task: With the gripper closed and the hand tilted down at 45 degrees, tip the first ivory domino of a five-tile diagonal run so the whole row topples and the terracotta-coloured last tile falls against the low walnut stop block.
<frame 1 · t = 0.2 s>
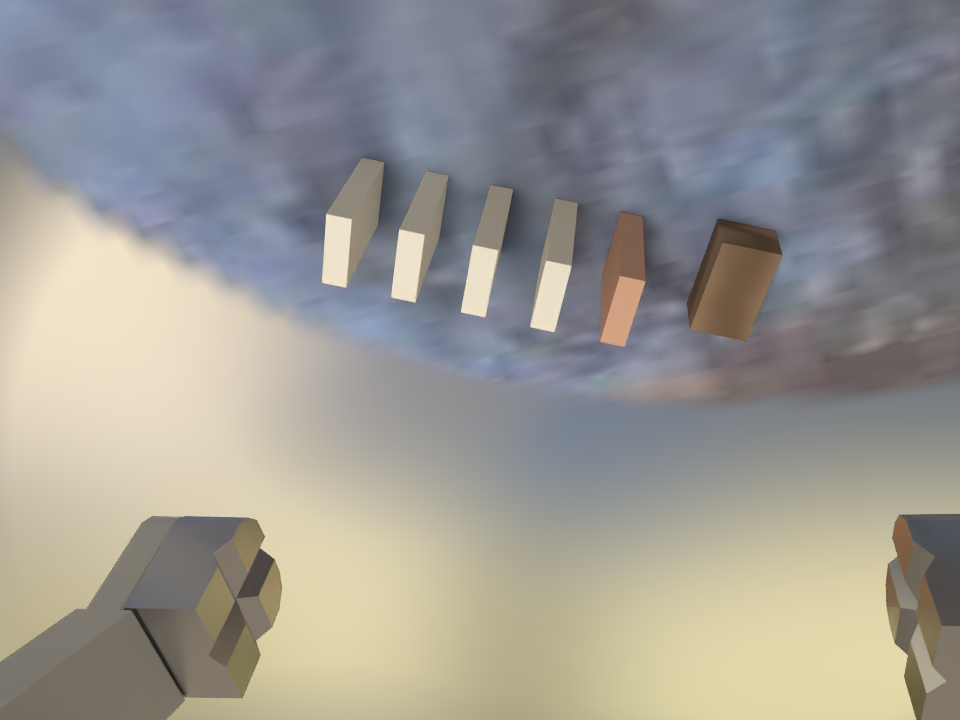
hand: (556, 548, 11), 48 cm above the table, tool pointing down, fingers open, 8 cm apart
domino1: (370, 192, 62), on the table
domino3: (495, 218, 61), on the table
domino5: (622, 245, 61), on the table
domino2: (432, 205, 62), on the table
stop block: (729, 268, 61), on the table
domino4: (558, 232, 61), on the table
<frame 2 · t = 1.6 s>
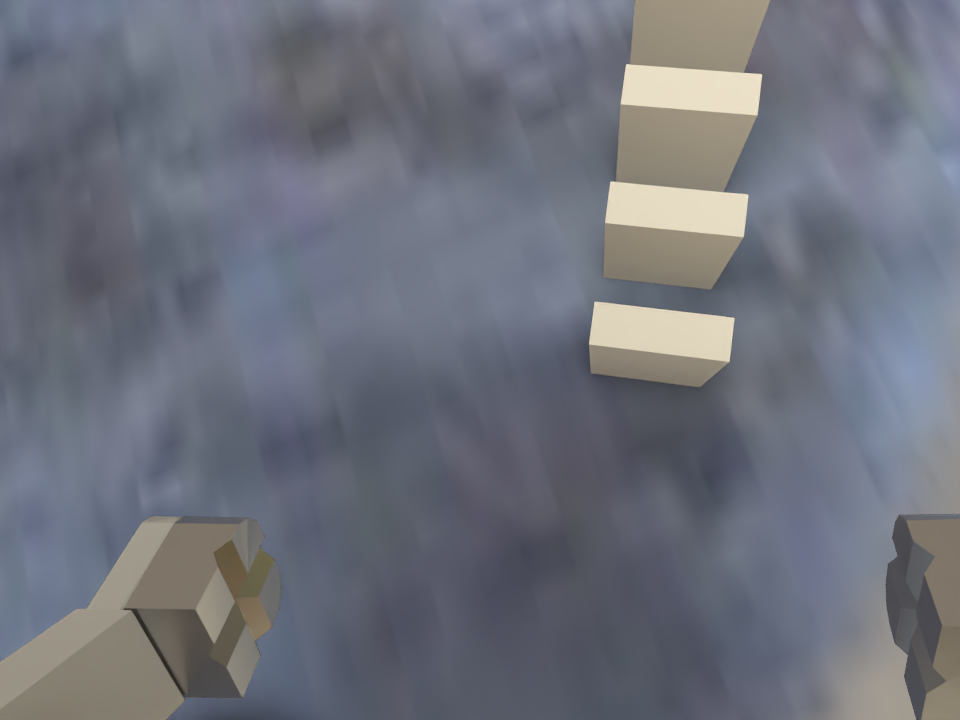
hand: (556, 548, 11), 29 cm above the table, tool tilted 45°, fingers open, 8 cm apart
domino1: (646, 363, 40), on the table
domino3: (670, 173, 41), on the table
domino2: (658, 267, 40), on the table
domino4: (681, 81, 41), on the table
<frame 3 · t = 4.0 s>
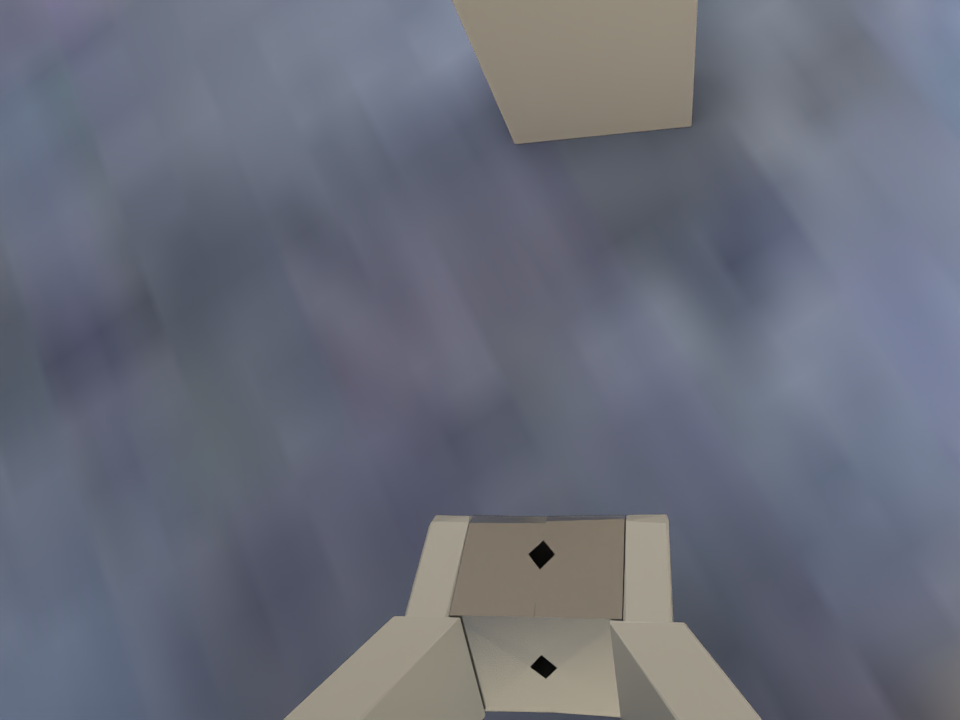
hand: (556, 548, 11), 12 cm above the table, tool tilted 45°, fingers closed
domino1: (600, 109, 25), on the table
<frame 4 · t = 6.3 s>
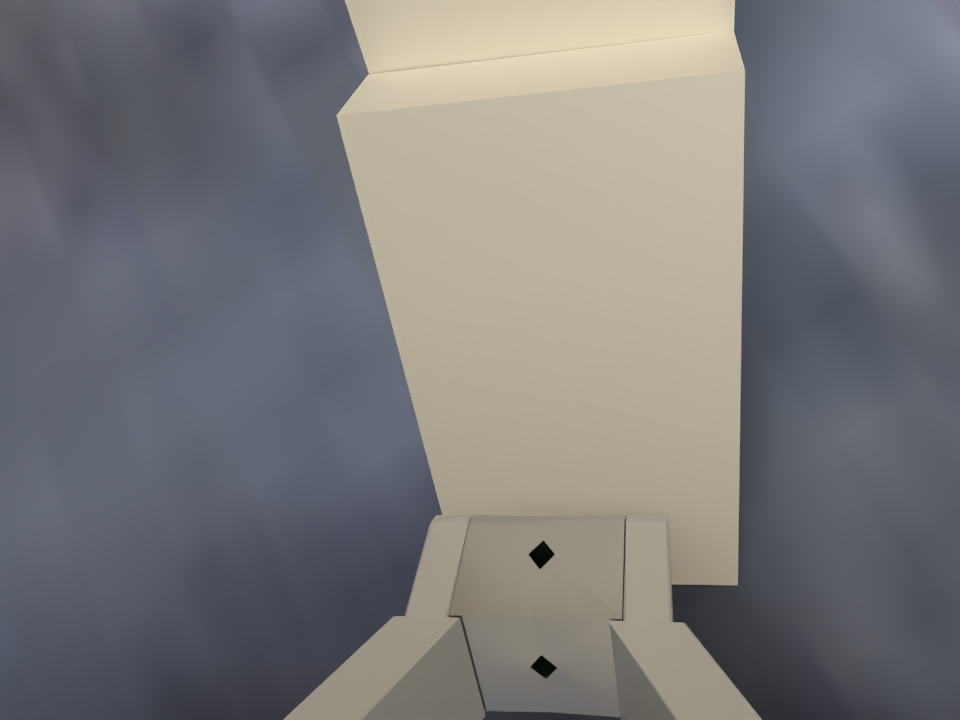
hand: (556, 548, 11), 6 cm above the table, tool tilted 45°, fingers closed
domino1: (595, 549, 16), point 1 cm above the table, tilted 44°
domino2: (590, 322, 17), on the table, tilted 29°
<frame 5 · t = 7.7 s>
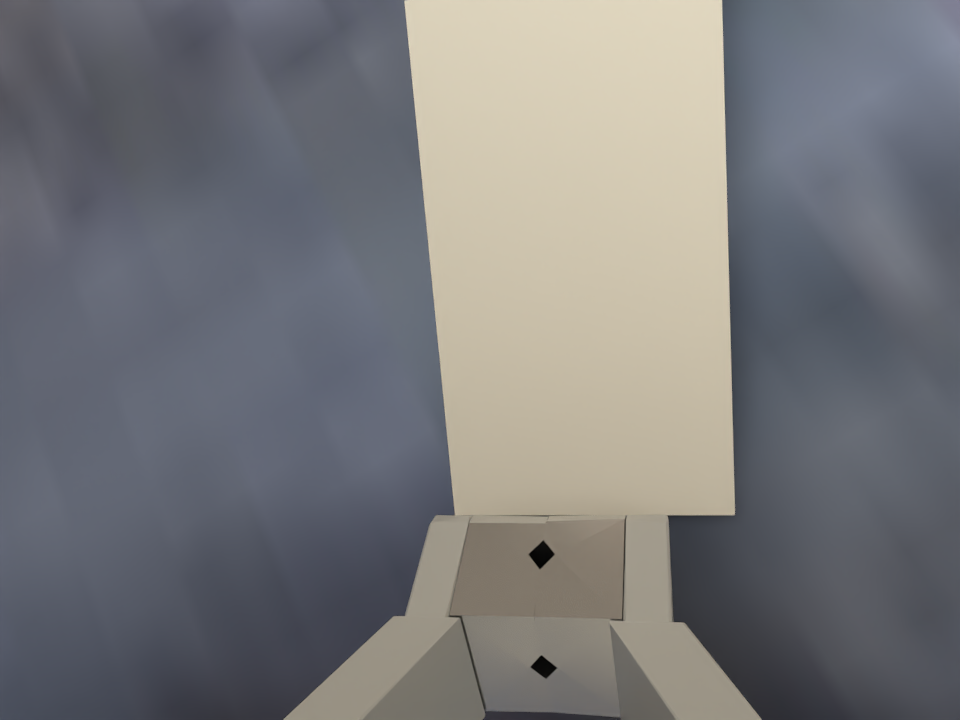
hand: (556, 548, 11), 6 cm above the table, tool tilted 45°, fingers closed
domino1: (593, 498, 16), point 1 cm above the table, tilted 68°, touching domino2
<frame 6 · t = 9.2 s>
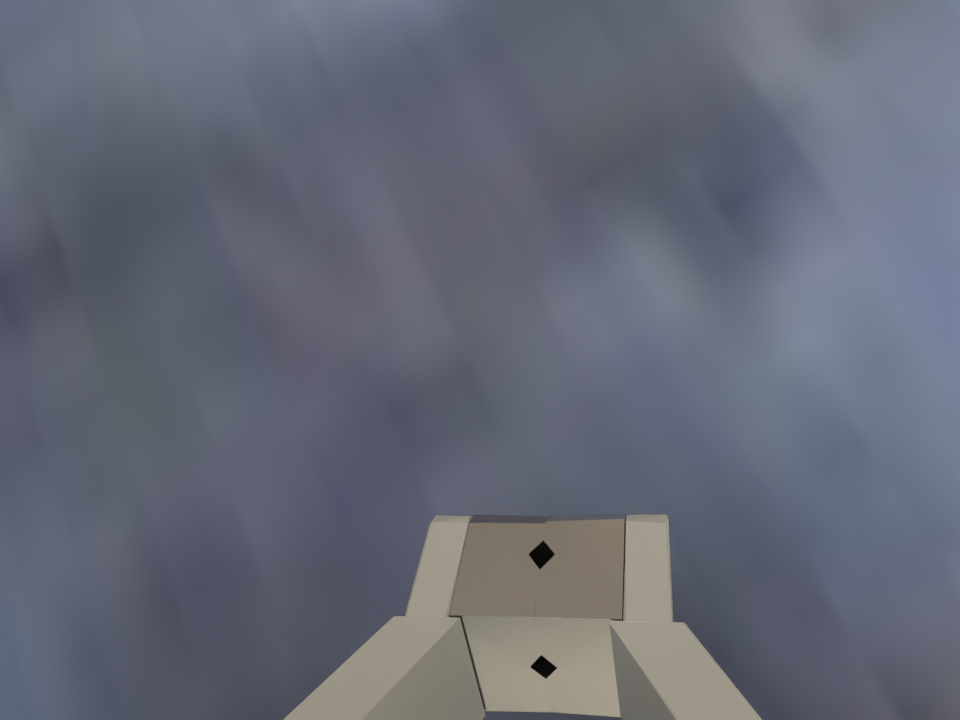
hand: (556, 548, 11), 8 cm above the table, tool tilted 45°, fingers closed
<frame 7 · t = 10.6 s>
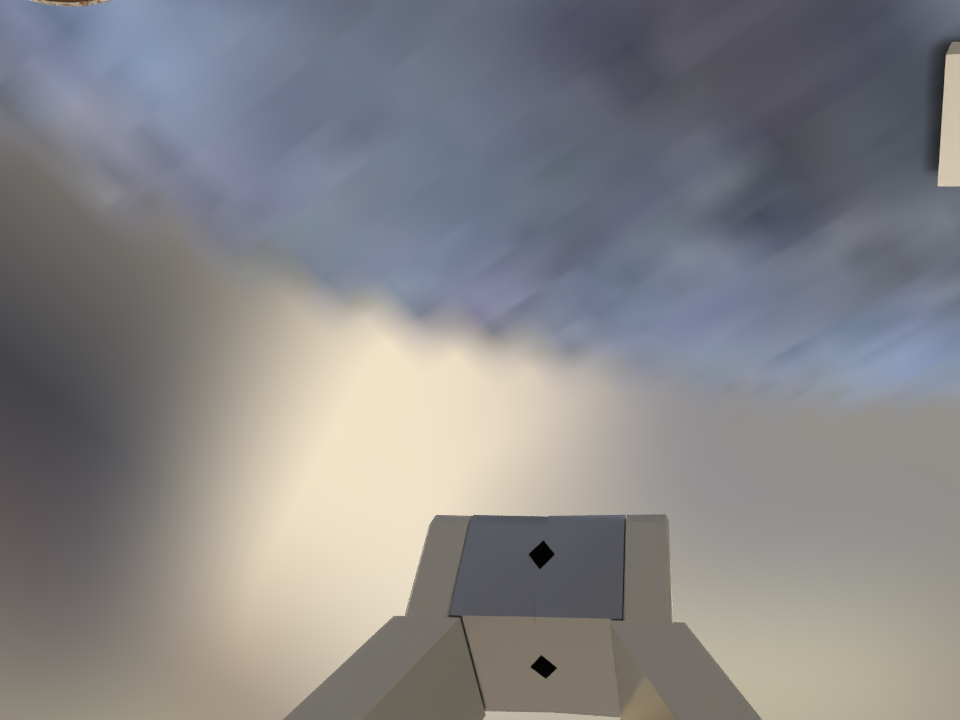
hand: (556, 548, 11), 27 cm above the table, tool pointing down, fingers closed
domino1: (944, 115, 33), point 1 cm above the table, tilted 68°, touching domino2
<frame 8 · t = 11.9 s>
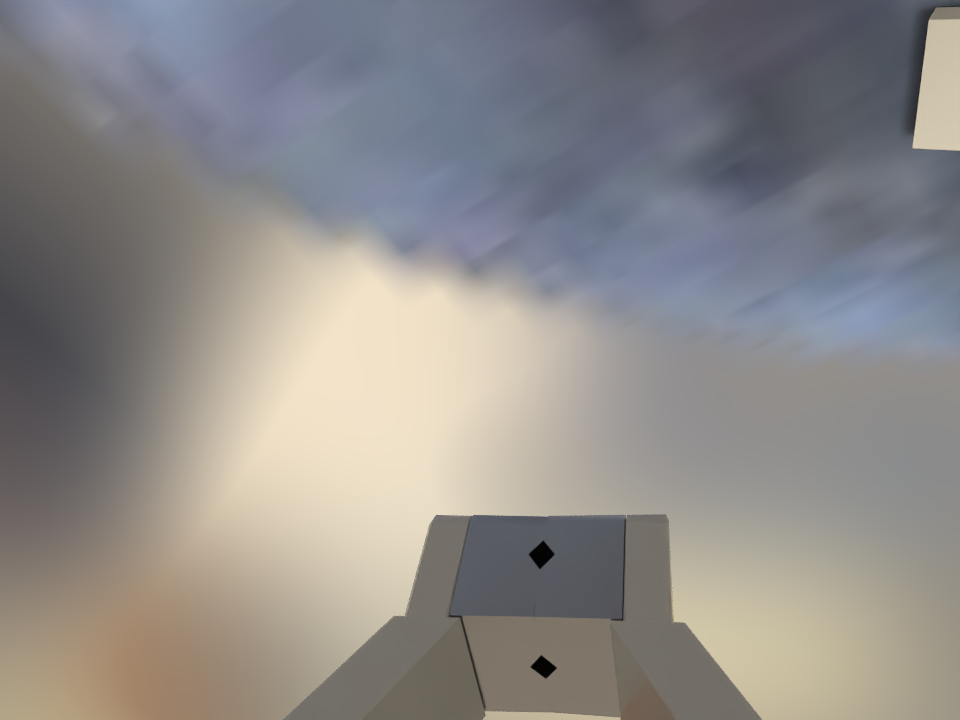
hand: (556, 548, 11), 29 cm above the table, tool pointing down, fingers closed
domino1: (923, 79, 34), point 1 cm above the table, tilted 67°, touching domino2
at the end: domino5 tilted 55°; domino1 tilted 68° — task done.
